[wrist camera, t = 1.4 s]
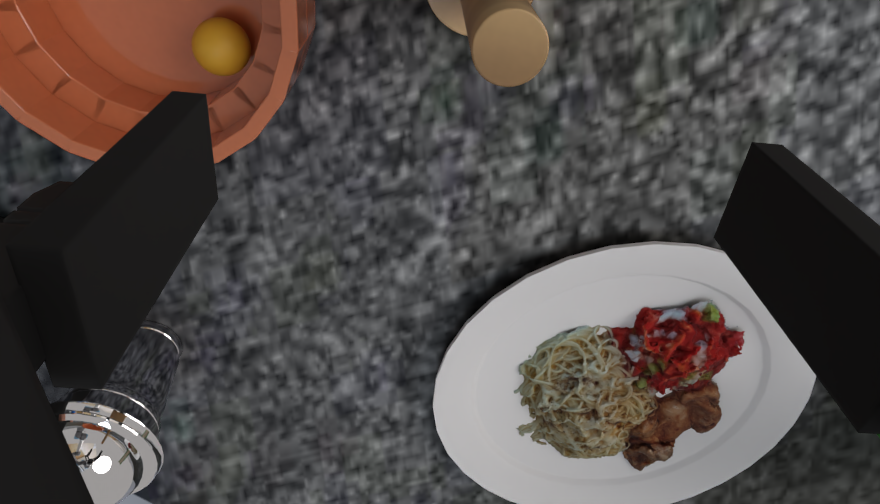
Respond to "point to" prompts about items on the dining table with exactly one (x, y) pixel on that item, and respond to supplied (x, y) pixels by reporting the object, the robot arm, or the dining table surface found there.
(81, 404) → the cup with straw
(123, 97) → the bowl
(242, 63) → the bead
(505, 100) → the dining table surface
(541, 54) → the masher
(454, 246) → the dining table surface
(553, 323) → the plated food
